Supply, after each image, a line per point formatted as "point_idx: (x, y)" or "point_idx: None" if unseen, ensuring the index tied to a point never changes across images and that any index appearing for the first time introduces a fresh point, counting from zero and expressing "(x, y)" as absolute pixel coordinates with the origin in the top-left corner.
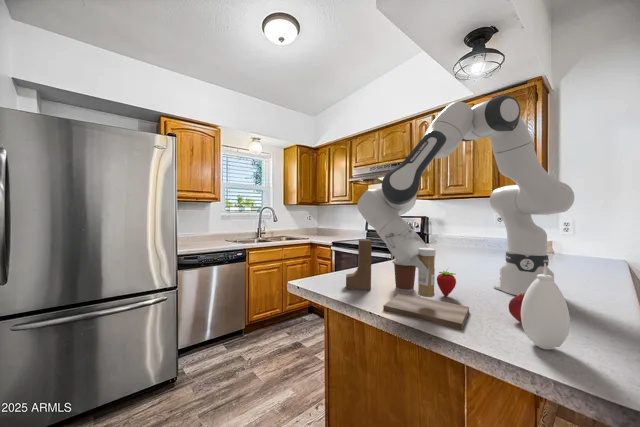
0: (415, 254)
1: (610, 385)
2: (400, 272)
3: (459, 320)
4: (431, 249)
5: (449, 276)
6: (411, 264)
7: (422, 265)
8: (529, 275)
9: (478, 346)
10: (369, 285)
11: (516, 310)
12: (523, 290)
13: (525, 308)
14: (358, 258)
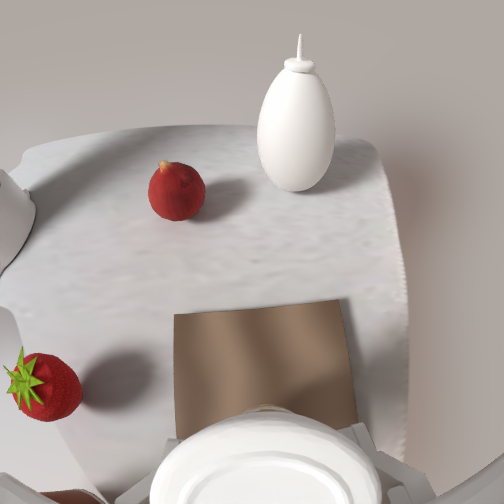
0: (467, 485)
1: (344, 144)
2: None
3: (319, 310)
4: (316, 451)
5: (39, 372)
6: None
7: (373, 455)
8: (2, 196)
9: (384, 259)
10: None
11: (200, 197)
12: (20, 225)
13: (325, 144)
14: None
